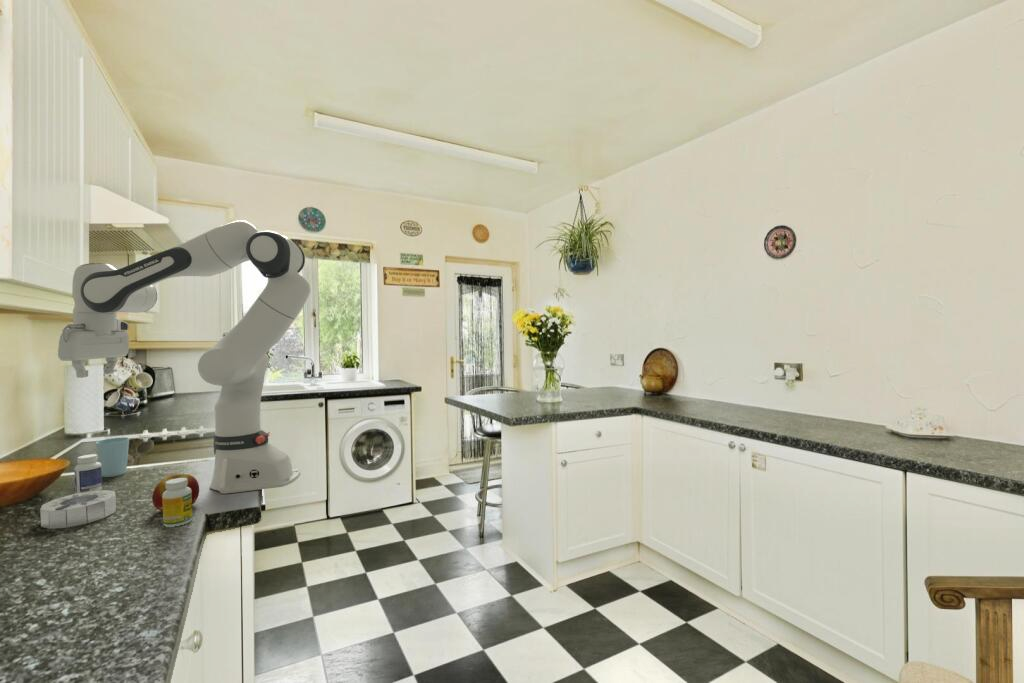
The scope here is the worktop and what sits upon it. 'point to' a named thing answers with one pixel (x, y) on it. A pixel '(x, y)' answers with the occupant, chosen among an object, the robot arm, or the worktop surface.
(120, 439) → the cup
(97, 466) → the pill bottle
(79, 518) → the disc
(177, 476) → the fruit
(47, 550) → the worktop surface
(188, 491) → the supplement bottle
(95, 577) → the worktop surface
